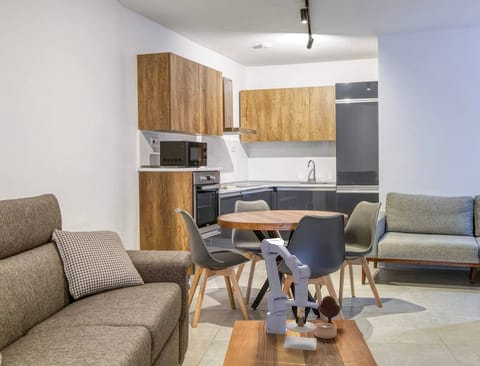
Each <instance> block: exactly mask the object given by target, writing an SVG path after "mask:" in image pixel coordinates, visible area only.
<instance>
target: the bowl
mask: <svg viewBox="0 0 480 366" xmlns="http://www.w3.org/2000/svg"><path fill="white" fill-rule="evenodd" d="M334 324H335V323H334ZM334 324H331V323H326V322H318V323H314V325H315V326H316V329H315V330H314V336H315V337H316V338H319V339H325V340H328V339H329V340H330V339H331V340H332V339H334V338H336V337H337V335H338V333H337V332H338V331H337V330H338V329H337V328H338V326H337V325H336V324H335V325H334Z"/></svg>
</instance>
